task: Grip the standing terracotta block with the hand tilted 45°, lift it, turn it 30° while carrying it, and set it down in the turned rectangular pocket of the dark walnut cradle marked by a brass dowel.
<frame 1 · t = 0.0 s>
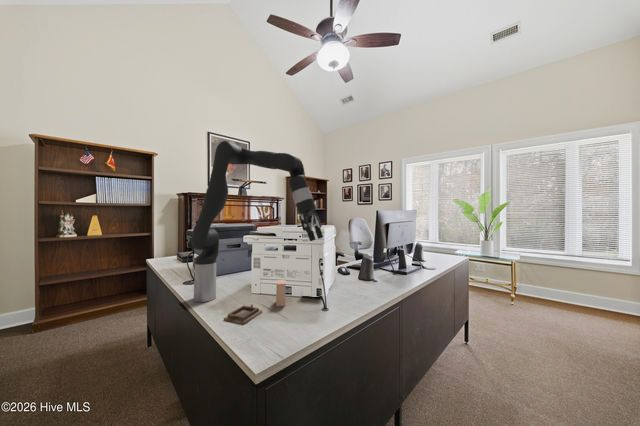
hand: (317, 239, 95), 31 cm above the table, tool tilted 20°, fingers open, 8 cm apart
walnut cradle: (243, 316, 96), on the table
terracotta block: (280, 303, 110), on the table
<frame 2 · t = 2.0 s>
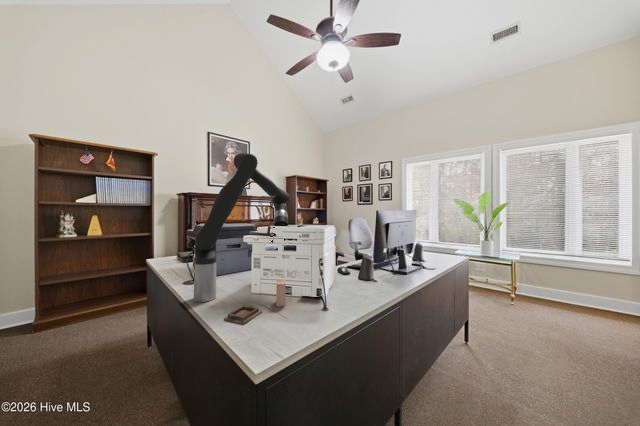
hand: (281, 243, 121), 26 cm above the table, tool tilted 45°, fingers open, 8 cm apart
nothing on the table moved.
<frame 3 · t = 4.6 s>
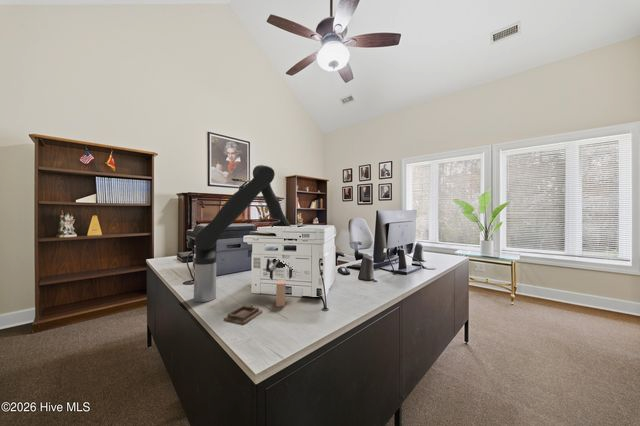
hand: (281, 278, 114), 10 cm above the table, tool tilted 45°, fingers open, 8 cm apart
nothing on the table moved.
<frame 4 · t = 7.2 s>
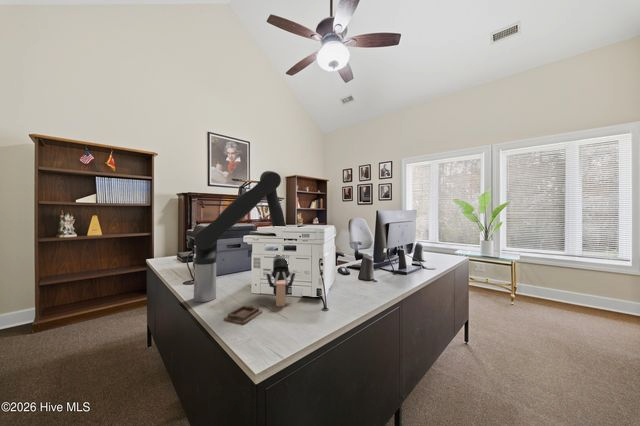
hand: (280, 294, 109), 5 cm above the table, tool tilted 45°, fingers closed on terracotta block, 4 cm apart
terracotta block: (280, 303, 110), on the table, touching gripper
everything else where it was.
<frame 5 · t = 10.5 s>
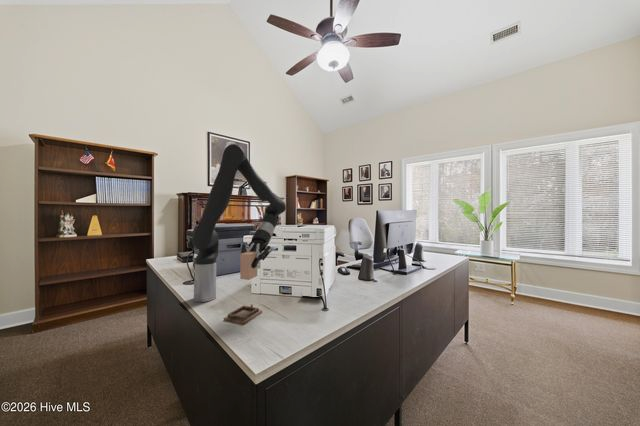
hand: (247, 266, 96), 20 cm above the table, tool tilted 45°, fingers closed on terracotta block, 4 cm apart
terracotta block: (248, 277, 97), point 15 cm above the table, touching gripper
everything else where it was.
when the fingers open (7 cm above the table, at t = 14.1 s): terracotta block drops 1 cm, resting on walnut cradle.
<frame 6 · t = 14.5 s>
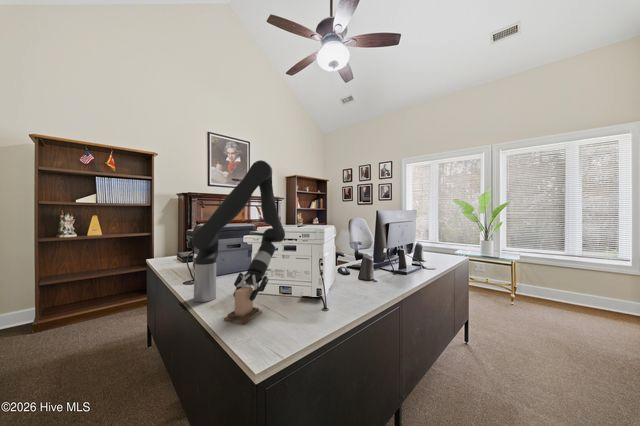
hand: (242, 298, 96), 7 cm above the table, tool tilted 45°, fingers open, 7 cm apart
terracotta block: (243, 314, 96), point 1 cm above the table, touching walnut cradle
everything else where it was.
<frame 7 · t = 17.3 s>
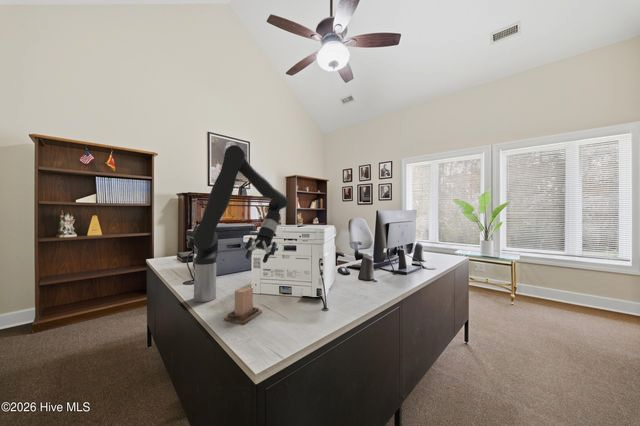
hand: (255, 260, 110), 19 cm above the table, tool tilted 35°, fingers open, 8 cm apart
nothing on the table moved.
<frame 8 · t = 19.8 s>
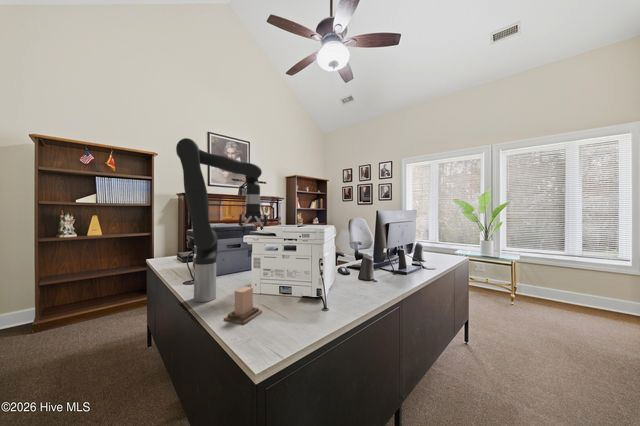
hand: (252, 233, 127), 30 cm above the table, tool pointing down, fingers open, 8 cm apart
nothing on the table moved.
at the end: terracotta block 0.2 cm off-centre on the walnut cradle, point 0.8 cm above the walnut cradle's base; terracotta block tilted 0°; the gripper is holding nothing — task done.
